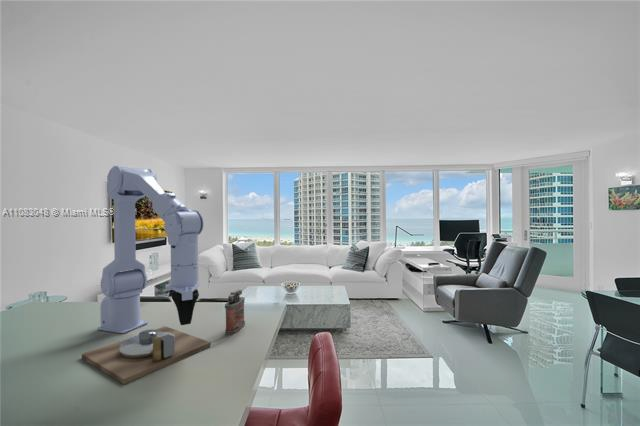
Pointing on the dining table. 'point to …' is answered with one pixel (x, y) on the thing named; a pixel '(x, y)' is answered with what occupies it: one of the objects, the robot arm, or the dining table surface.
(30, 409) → the dining table surface
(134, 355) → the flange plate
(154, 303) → the dining table surface
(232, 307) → the lighter
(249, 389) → the dining table surface
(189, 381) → the dining table surface
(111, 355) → the walnut board
